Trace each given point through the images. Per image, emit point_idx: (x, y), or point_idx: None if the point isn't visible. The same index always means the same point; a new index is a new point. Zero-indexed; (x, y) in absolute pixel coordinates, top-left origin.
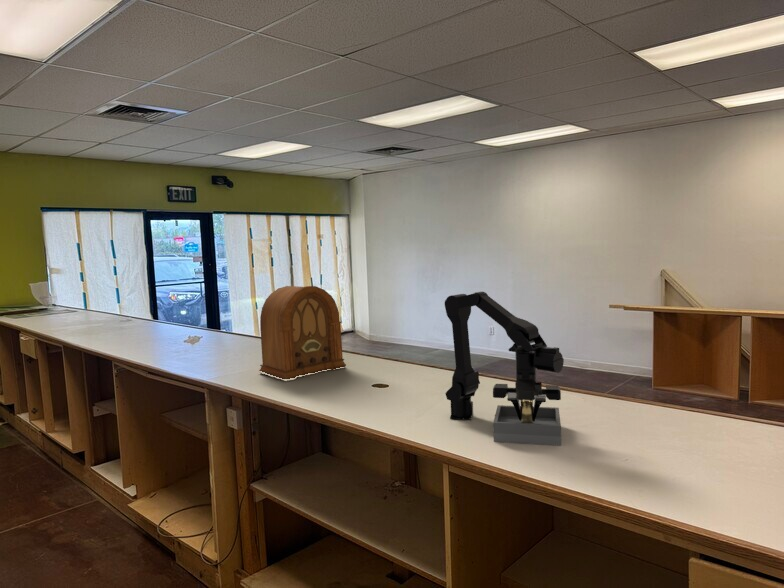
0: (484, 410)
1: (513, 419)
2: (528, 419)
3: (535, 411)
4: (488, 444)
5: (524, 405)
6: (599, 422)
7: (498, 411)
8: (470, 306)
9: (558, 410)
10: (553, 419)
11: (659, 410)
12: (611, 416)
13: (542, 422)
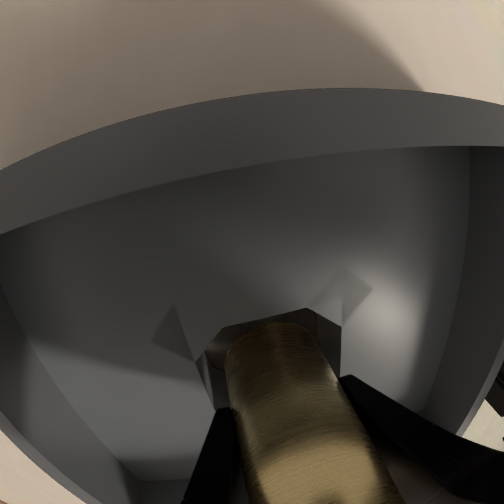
0: None
1: None
2: (272, 393)
3: (206, 493)
4: (448, 66)
5: None
6: (41, 473)
7: (488, 379)
8: None
9: None
10: (141, 471)
11: (12, 501)
12: (50, 496)
13: (179, 436)
